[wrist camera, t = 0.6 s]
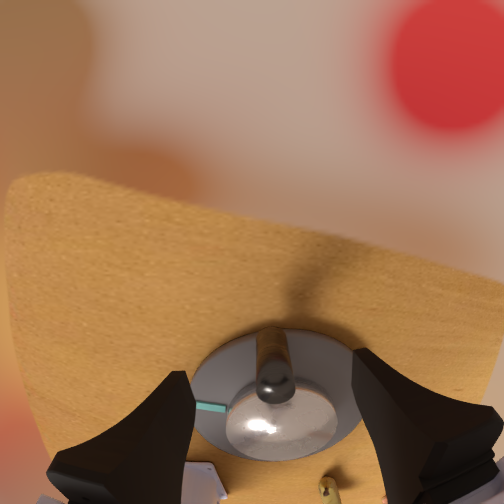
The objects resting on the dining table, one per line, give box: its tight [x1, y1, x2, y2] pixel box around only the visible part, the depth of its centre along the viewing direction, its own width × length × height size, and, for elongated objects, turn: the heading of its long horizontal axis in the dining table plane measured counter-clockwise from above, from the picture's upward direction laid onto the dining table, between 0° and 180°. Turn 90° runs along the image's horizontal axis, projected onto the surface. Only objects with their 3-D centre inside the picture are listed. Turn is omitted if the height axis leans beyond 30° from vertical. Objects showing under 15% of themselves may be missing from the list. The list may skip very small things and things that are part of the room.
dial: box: [226, 327, 338, 461], centre depth 19 cm, size 14×9×6 cm, turn 7°
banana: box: [318, 476, 342, 504], centre depth 27 cm, size 10×2×4 cm, turn 18°
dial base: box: [190, 329, 362, 461], centre depth 24 cm, size 16×16×1 cm
